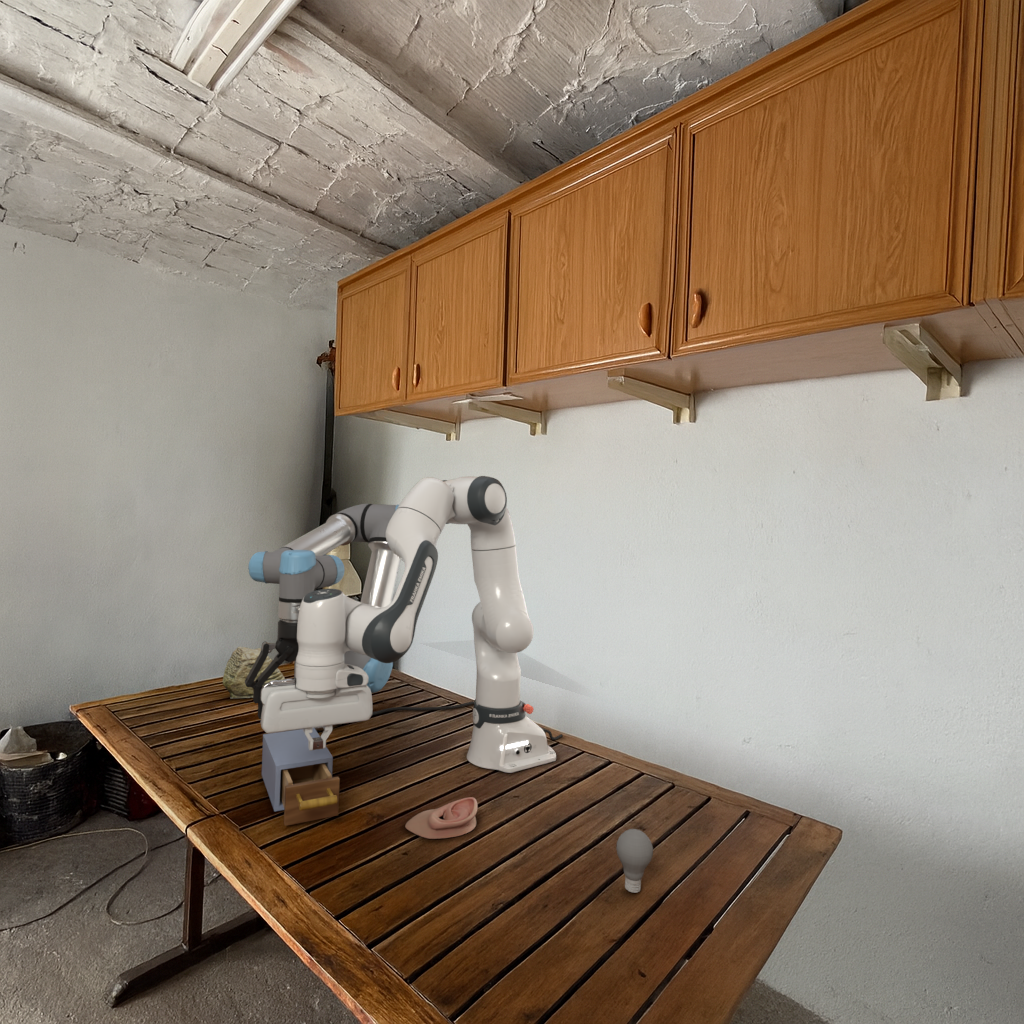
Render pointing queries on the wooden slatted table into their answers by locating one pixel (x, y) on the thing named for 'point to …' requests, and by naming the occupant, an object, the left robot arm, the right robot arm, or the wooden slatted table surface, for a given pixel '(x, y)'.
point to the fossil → (245, 672)
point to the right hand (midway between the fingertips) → (316, 748)
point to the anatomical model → (445, 820)
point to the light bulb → (634, 857)
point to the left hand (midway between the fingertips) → (292, 713)
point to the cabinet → (288, 759)
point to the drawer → (308, 793)
